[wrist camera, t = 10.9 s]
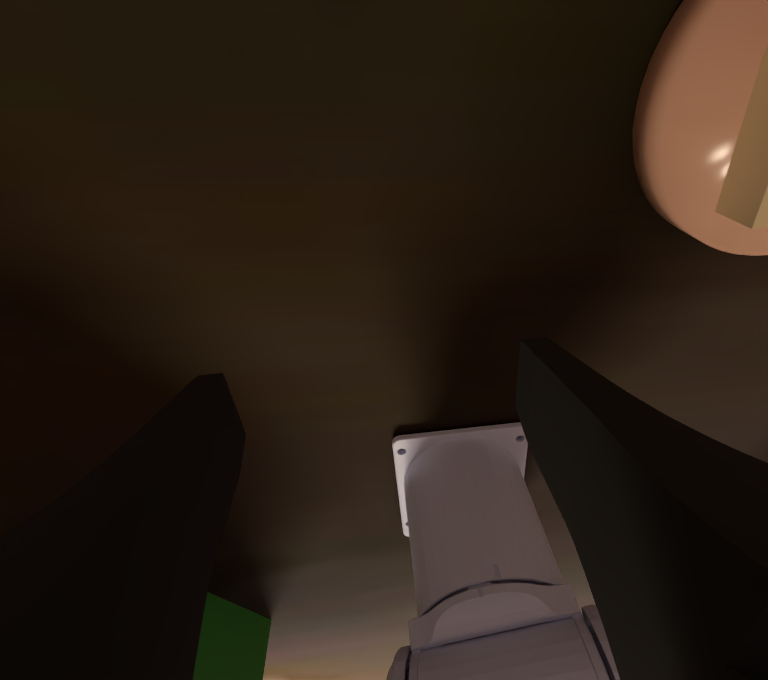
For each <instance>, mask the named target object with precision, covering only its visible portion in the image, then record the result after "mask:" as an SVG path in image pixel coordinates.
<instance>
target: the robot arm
mask: <svg viewBox="0 0 768 680" xmlns="http://www.w3.org/2000/svg"><path fill="white" fill-rule="evenodd" d="M515 406H516V409H517V413H518V416H519V419H520V422H518V423H508V424H499V425H490V426H481V427H472V428H463V429H454V430H445V431H435V432H426V433H417V434H408V435H399V436H396V437H395V438H394V439H393V440H392V447H393V455H394V463H395V471H396V479H397V487H398V495H399V503H400V511H401V519H402V527H403V533H404V535H406V536H409V538H410V547H411V556H412V565H413V574H414V583H415V592H416V601H417V610H418V618H415V619H411V620H409V621H408V624H409V635H410V645H409V646H404V647H401V648H400V649H399V650H398V651H397V653H396V655H395V657H394V661H393V663H392V665H391V667H390V669H389V672H388V675H387V680H768V463H766V462H764V461H761V460H759V459H757V458H754V457H752V456H750V455H747V454H745V453H743V452H740V451H738V450H736V449H733V448H731V447H729V446H727V445H725V444H723V443H720V442H718V441H716V440H714V439H712V438H710V437H708V436H706V435H704V434H702V433H700V432H698V431H696V430H694V429H692V428H690V427H688V426H686V425H684V424H682V423H680V422H678V421H676V420H674V419H673V418H671V417H669V416H667V415H665V414H663V413H662V412H660V411H658V410H656V409H655V408H653V407H651V406H650V405H648V404H646V403H645V402H643V401H641V400H639V399H638V398H636V397H634V396H633V395H631V394H630V393H628V392H626V391H625V390H623V389H622V388H620V387H618V386H617V385H615V384H614V383H612V382H611V381H609V380H608V379H606V378H605V377H603V376H602V375H600V374H599V373H597V372H596V371H594V370H593V369H591V368H590V367H588V366H587V365H586V364H584V363H583V362H581V361H580V360H578V359H577V358H576V357H574V356H573V355H571V354H570V353H568V352H567V351H566V350H564V349H563V348H561V347H560V346H558V345H557V344H556V343H554V342H553V341H551V340H549V339H548V338H546V337H543V338H534V339H525V340H520V350H519V362H518V374H517V386H516V398H515ZM245 435H246V434H245V431H244V428H243V426H242V423H241V420H240V418H239V415H238V412H237V410H236V407H235V404H234V401H233V399H232V396H231V393H230V391H229V388H228V385H227V383H226V380H225V377H224V375H223V373H219V374H210V375H201V376H197V377H196V378H195V379H194V380H192V381H191V382H190V383H189V384H188V385H187V386H186V387H185V388H184V389H183V390H181V391H180V392H179V393H178V394H177V395H176V396H175V397H174V398H173V399H172V400H171V401H170V402H169V403H168V404H167V405H166V406H165V407H164V408H163V409H162V410H161V411H159V412H158V413H157V414H156V415H155V416H154V417H153V418H152V419H151V420H150V421H149V422H148V423H147V424H146V425H145V426H143V427H142V428H141V429H140V430H139V431H138V432H137V433H136V434H135V435H134V436H133V437H132V438H130V439H129V440H128V441H127V442H126V443H125V444H124V445H122V446H121V447H120V448H119V449H118V450H117V451H116V452H114V453H113V454H112V455H111V456H110V457H109V458H108V459H106V460H105V461H104V462H103V463H102V464H101V465H99V466H98V467H97V468H96V469H95V470H94V471H92V472H91V473H90V474H89V475H87V476H86V477H85V478H84V479H82V480H81V481H80V482H79V483H77V484H76V485H75V486H74V487H72V488H71V489H70V490H68V491H67V492H66V493H64V494H63V495H62V496H60V497H59V498H58V499H56V500H55V501H54V502H52V503H51V504H50V505H48V506H47V507H45V508H44V509H43V510H41V511H40V512H39V513H37V514H36V515H34V516H33V517H31V518H30V519H28V520H27V521H25V522H24V523H22V524H21V525H19V526H18V527H16V528H15V529H13V530H12V531H10V532H9V533H7V534H6V535H4V536H3V537H1V538H0V680H193V675H194V669H195V663H196V656H197V650H198V644H199V638H200V632H201V625H202V620H203V614H204V609H205V604H206V598H207V593H208V587H209V582H210V577H211V573H212V569H213V565H214V561H215V558H216V554H217V551H218V547H219V544H220V540H221V537H222V534H223V530H224V527H225V523H226V520H227V517H228V513H229V510H230V506H231V503H232V499H233V496H234V492H235V489H236V485H237V482H238V478H239V474H240V470H241V464H242V458H243V451H244V443H245ZM518 436H520V437H518ZM528 445H529V447H530V449H531V451H532V453H533V455H534V458H535V460H536V462H537V464H538V466H539V468H540V470H541V472H542V475H543V477H544V479H545V481H546V483H547V485H548V487H549V489H550V491H551V493H552V495H553V497H554V500H555V502H556V504H557V506H558V508H559V510H560V512H561V514H562V516H563V518H564V520H565V523H566V525H567V527H568V530H569V532H570V534H571V537H572V539H573V541H574V544H575V547H576V550H577V552H578V555H579V558H580V561H581V563H582V566H583V569H584V572H585V575H586V577H587V580H588V583H589V586H590V589H591V592H592V595H593V598H594V601H595V603H596V606H595V605H588V606H584V607H581V608H582V613H581V611H580V608H579V606H578V603H577V601H576V598H575V596H574V593H573V591H572V588H571V586H570V584H564V581H563V579H562V576H561V574H560V571H559V569H558V566H557V563H556V561H555V558H554V556H553V553H552V551H551V548H550V545H549V543H548V540H547V538H546V535H545V533H544V530H543V527H542V525H541V522H540V520H539V517H538V515H537V512H536V509H535V507H534V504H533V502H532V499H531V497H530V494H529V491H528V489H527V486H526V484H525V481H524V474H525V465H526V456H527V447H528ZM399 449H403V450H399ZM582 615H583V616H582Z"/></svg>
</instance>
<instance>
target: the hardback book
mask: <svg viewBox="0 0 768 680" xmlns="http://www.w3.org/2000/svg"><path fill="white" fill-rule="evenodd" d="M270 625H271V619H268V618H266V617H264V616H261V615H259V614H257V613H255V612H252V611H250V610H248V609H245V608H243V607H241V606H239V605H236V604H234V603H232V602H229V601H227V600H225V599H223V598H220V597H218V596H216V595H213V594H211V593H209V592H208V593H207V598H206V604H205V609H204V614H203V620H202V625H201V632H200V638H199V644H198V650H197V656H196V663H195V669H194V675H193V680H263V673H264V666H265V659H266V652H267V645H268V639H269V632H270Z"/></svg>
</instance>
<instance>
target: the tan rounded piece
mask: <svg viewBox="0 0 768 680" xmlns="http://www.w3.org/2000/svg"><path fill="white" fill-rule="evenodd" d="M633 157H634V165H635V170H636V173H637V177H638V180H639V184H640V186H641V188H642V190H643V192H644V194H645V197H646V199H647V200H648V201H649V203H650V204H651V206H652V207H653V208H654V210H655V211H656V212H657V213H658V214H659V215H660V216H661V217H662V218H663V219H665V220H666V221H667V222H669V223H670V224H672V225H673V226H675V227H676V228H678V229H680V230H681V231H683V232H685V233H687V234H689V235H690V236H692V237H694V238H696V239H697V240H699V241H701V242H703V243H704V244H706V245H709V246H711V247H713V248H716V249H718V250H721V251H725V252H729V253H733V254H739V255H752V256H757V255H768V0H683V2H682V3H681V4H680V6H679V7H678V9H677V10H676V12H675V13H674V15H673V17H672V19H671V20H670V22H669V24H668V25H667V27H666V29H665V31H664V32H663V34H662V36H661V38H660V40H659V42H658V44H657V47H656V49H655V51H654V53H653V55H652V57H651V59H650V62H649V65H648V67H647V70H646V73H645V76H644V79H643V81H642V84H641V88H640V92H639V96H638V100H637V104H636V109H635V116H634V124H633Z"/></svg>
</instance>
